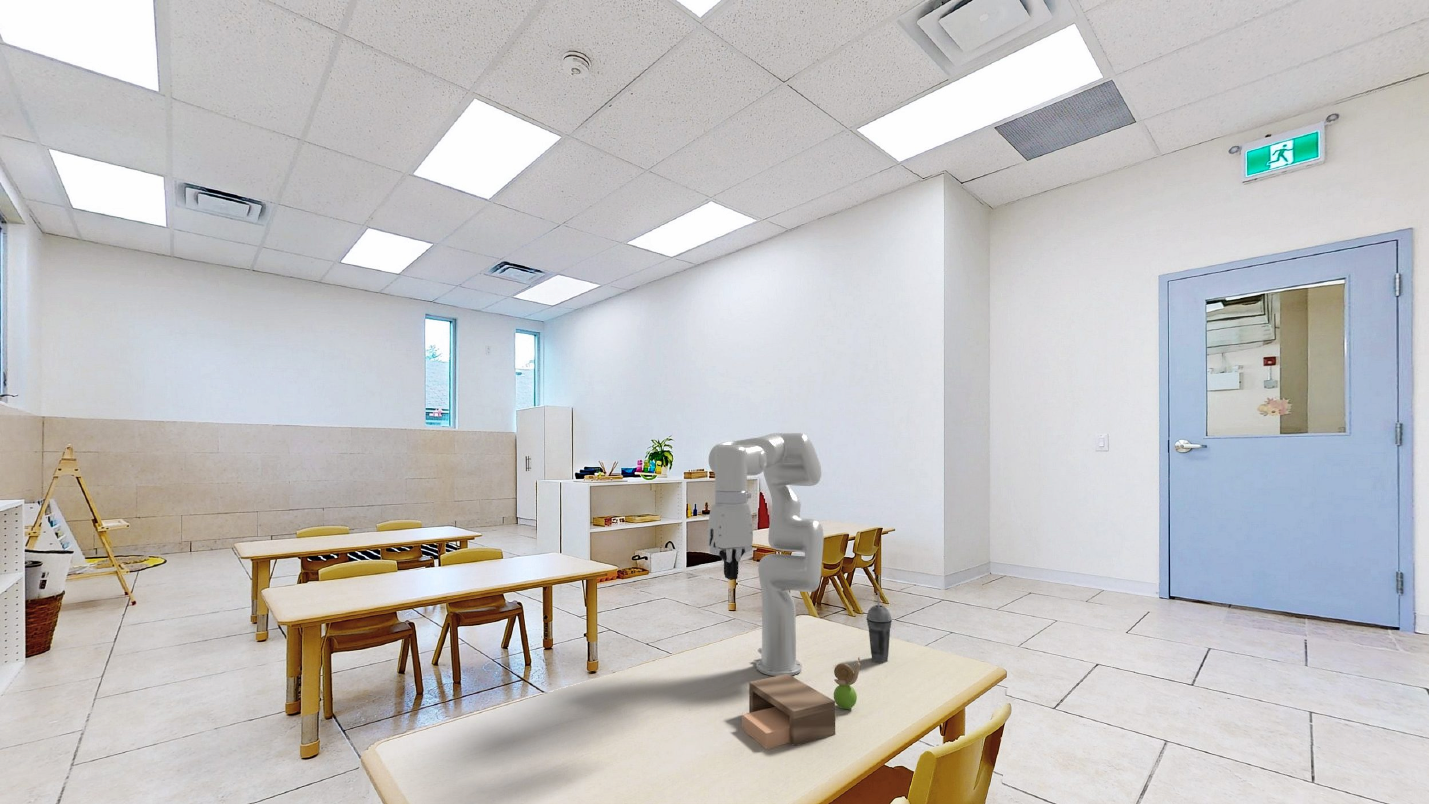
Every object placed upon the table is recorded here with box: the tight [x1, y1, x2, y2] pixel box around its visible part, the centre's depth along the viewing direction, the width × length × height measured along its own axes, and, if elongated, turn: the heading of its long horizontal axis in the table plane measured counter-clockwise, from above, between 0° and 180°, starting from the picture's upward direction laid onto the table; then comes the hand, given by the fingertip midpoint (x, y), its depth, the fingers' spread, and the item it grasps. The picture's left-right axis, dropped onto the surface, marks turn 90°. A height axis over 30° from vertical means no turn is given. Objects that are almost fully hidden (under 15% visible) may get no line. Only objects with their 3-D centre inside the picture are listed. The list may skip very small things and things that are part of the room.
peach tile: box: [741, 707, 790, 750], centre depth 135 cm, size 10×14×4 cm
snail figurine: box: [833, 656, 861, 710], centre depth 147 cm, size 5×6×12 cm
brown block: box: [748, 674, 836, 747], centre depth 139 cm, size 18×11×7 cm, turn 28°
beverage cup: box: [866, 590, 893, 664], centre depth 180 cm, size 7×7×20 cm
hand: (731, 578), depth 142 cm, fingers closed
